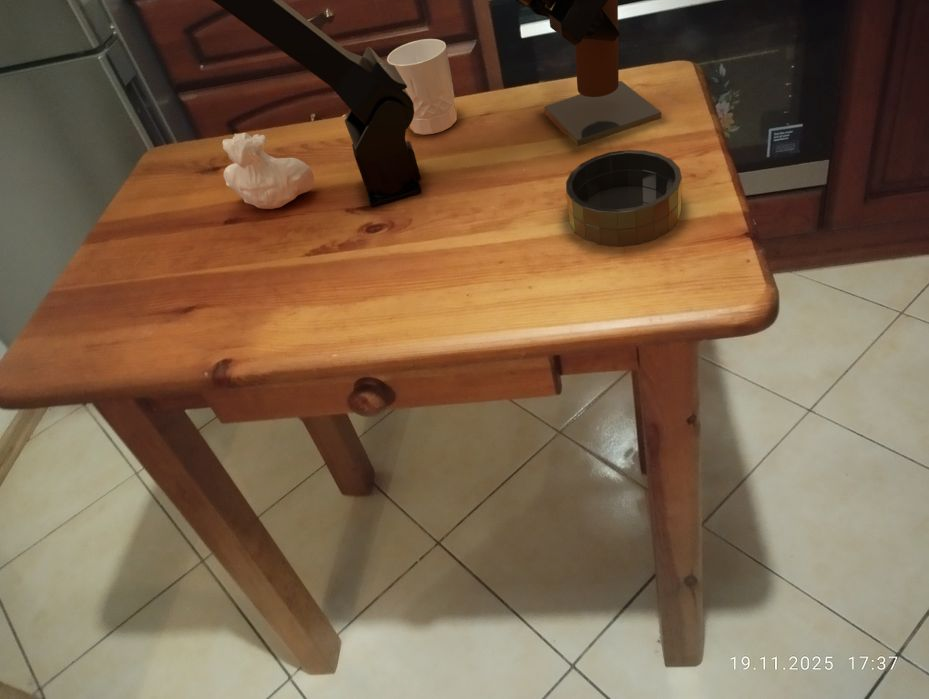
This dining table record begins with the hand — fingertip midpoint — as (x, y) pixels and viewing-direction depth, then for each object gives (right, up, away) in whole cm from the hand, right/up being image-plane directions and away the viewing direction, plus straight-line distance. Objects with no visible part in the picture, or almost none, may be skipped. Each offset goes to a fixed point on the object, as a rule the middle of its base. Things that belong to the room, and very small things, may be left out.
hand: (606, 29), depth 79 cm
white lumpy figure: (-41, -18, +9) cm, 46 cm away
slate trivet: (+1, -8, +7) cm, 11 cm away
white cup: (-21, -6, +16) cm, 27 cm away
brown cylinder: (0, -5, +4) cm, 7 cm away
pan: (0, -24, -8) cm, 25 cm away
